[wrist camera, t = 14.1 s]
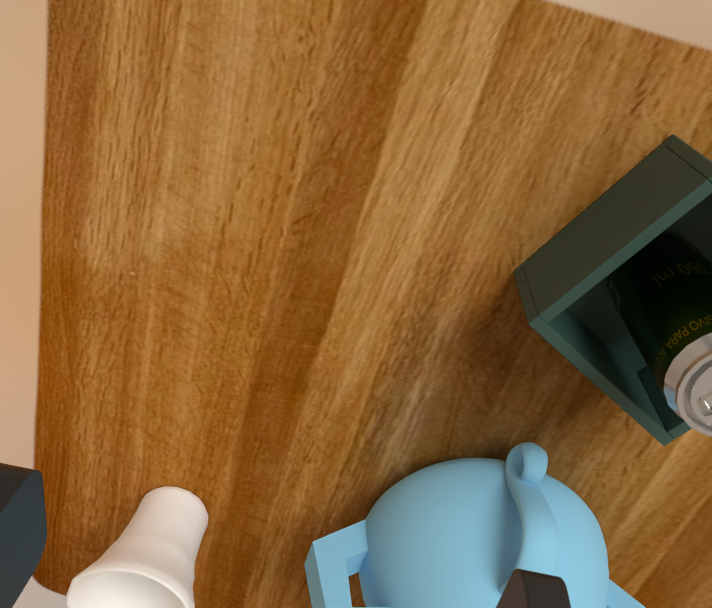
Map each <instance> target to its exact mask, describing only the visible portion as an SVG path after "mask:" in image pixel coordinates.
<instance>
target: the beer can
mask: <svg viewBox="0 0 712 608" xmlns="http://www.w3.org/2000/svg"><path fill="white" fill-rule="evenodd" d="M608 290H609V293H610V296H611V299H612V301H613V303H614V305H615V307H616V309H617V311H618V312H619V314H620V316H621V318H622V320H623V322H624V324H625V325H626V327H627V329H628V331H629V333H630V335H631V337H632V338H633V340H634V342H635V344H636V346H637V348H638V350H639V351H640V353H641V355H642V357H643V359H644V361H645V363H646V364H647V366H648V368H649V370H650V372H651V374H652V376H653V377H654V379H655V381H656V383H657V385H658V387H659V389H660V390H661V392H662V394H663V396H664V398H665V400H666V402H667V403H668V405H669V406H670V407H671V408H672V410H673V411H674V412H675V413H676V414H677V415H678V416H679V417H681V418H683V419H684V421H685V422H686V423H687V424H688V425H689V426H690V427H691V428H693V429H695V430H696V431H698V432H700V433H702V434H704V435H709V436H712V264H711V263H710V262H709V261H708V260H707V259H706V257H705V256H704V255H703V254H702V253H701V252H700V251H699V250H698V249H697V248H696V247H695V246H694V245H693V244H691V243H690V242H688V241H686V240H685V239H683V238H679V237H675V236H670V235H658V236H657V237H656V238H654V239H653V240H652V241H651V242H649V243H648V244H647V245H646V246H644V247H643V248H642V249H641V250H639V251H638V252H637V253H636V254H634V255H633V256H632V257H631V258H629V259H628V260H627V261H625V262H624V263H623V264H622V265H620V266H619V267H618V268H617V269H615V270H614V271H613V272H612V273H610V274H609V275H608Z"/></svg>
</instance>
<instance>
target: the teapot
mask: <svg viewBox="0 0 712 608" xmlns="http://www.w3.org/2000/svg"><path fill="white" fill-rule="evenodd" d="M547 465H548V456H547V453H546V452H545V451H544V450H543V449H542V448H541V447H540V446H538V445H536V444H534V443H532V442H525V443H521V444H518V445H516V446H515V447H514V448H513V449H512V450H511V451H510V453H509V454H508V456H507V459H506V461H505V460H499V459H493V458H461V459H453V460H448V461H444V462H440V463H436V464H433V465H431V466H428V467H425V468H423V469H420V470H418V471H416V472H414V473H412V474H410V475H408V476H407V477H405V478H403V479H402V480H400V481H399V482H397V483H396V484H394V485H393V486H392V487H390V488H389V489H388V490H387V491H386V492H385V493H384V494H383V495H382V496H381V497H380V498H379V499H378V500H377V501H376V503H375V504H374V506H373V507H372V509H371V511H370V512H369V514H368V515H367V517H366V519H365V520H363V521H360V522H358V523H355V524H353V525H351V526H348V527H346V528H344V529H341V530H339V531H337V532H334V533H332V534H329V535H327V536H325V537H322V538H320V539H318V540H315V541H313V542H312V545H311V547H310V550H309V553H308V556H307V558H306V561H305V564H304V566H305V571H306V577H307V582H308V588H309V594H310V599H311V605H312V608H496V606H497V604H498V602H499V600H500V598H501V595H502V593H503V591H504V589H505V587H506V585H507V582H508V580H509V578H510V576H511V574H512V572H513V571H514V570H515V569H523V570H528V571H533V572H538V573H543V574H548V575H553V576H558V577H561V578H562V579H563V580H564V582H565V584H566V587H567V591H568V595H569V600H570V604H571V608H645V607H644V606H643V605H642V604H640V603H639V602H638V601H636V600H635V599H634V598H633V597H631V596H630V595H629V594H628V593H626V592H625V591H624V590H622V589H621V588H620V587H619V586H617V585H616V584H615V583H613V582H612V581H611V580H610V579H609V570H608V558H607V549H606V545H605V541H604V537H603V534H602V531H601V528H600V525H599V523H598V521H597V519H596V517H595V515H594V514H593V513H592V511H591V510H590V509H589V507H588V506H587V505H586V504H585V503H584V501H583V500H582V499H581V498H580V497H579V496H578V495H577V494H576V493H575V492H573V491H572V490H571V489H570V488H568V487H567V486H566V485H564V484H563V483H562V482H560V481H558V480H556V479H554V478H553V477H551V476H549V475H547V474H545V473H546V470H547ZM358 572H359V578H360V584H361V590H362V595H363V600H364V603H365V606H366V607H352V603H351V595H350V587H349V580H348V576H351V575H353V574H355V573H358Z"/></svg>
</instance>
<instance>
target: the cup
mask: <svg viewBox="0 0 712 608" xmlns="http://www.w3.org/2000/svg"><path fill="white" fill-rule="evenodd" d="M207 526H208V514H207V511H206V509H205V506H204V504H203V503H202V501H201V500H200V499H199V498H198V497H197V496H195V495H194V494H193V493H191V492H190V491H188V490H185V489H182V488H179V487H170V486H164V487H160V488H156V489H154V490H152V491H150V492H149V493H147V494H146V495H145V496H144V498H143V499H142V501H141V503H140V505H139V507H138V509H137V511H136V513H135V514H134V516H133V518H132V519H131V521H130V522H129V524H128V526H127V527H126V529H125V530H124V531H123V533H122V534H121V536H120V537H119V538H118V540H117V541H116V542H115V543H114V544H112V545H111V546H110V547H109V548H108V549H107V550H106V552H105V553H104V554H103V555H102V556H101V557H100V559H98V560H97V561H96V562H94V563H93V564H91V565H90V566H89V567H87V568H86V569H85V570H83V571H82V572H81V573H79V574H78V575H77V576H75V577H74V578H73V579H72V582H71V585H70V587H69V590H68V593H67V595H66V600H67V608H195V605H194V597H193V583H194V579H195V575H194V565H195V561H196V556H197V553H198V550H199V546H200V543H201V540H202V537H203V535H204V532H205V530H206V528H207Z"/></svg>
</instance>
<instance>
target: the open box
mask: <svg viewBox="0 0 712 608" xmlns="http://www.w3.org/2000/svg"><path fill="white" fill-rule="evenodd" d="M658 235H670V236H675V237H679V238H683V239H685V240H686V241H688V242H690V243H691V244H693V245H694V246H695V247H696V248H697V249H698V250H699V251H700V252H701V253H702V254H703V255H704V256H705V257H706V259H707V260H708V261H709V262H710V263H711V264H712V162H711V161H710V160H709V159H707V158H706V157H704V156H703V155H702V154H700V153H699V152H698V151H696V150H695V149H693V148H692V147H691V146H689V145H688V144H686V143H685V142H684V141H682V140H681V139H679V138H678V137H677V136H675V135H674V134H673V135H672V136H670V137H669V138H668V139H667V140H666V141H665V142H663V143H662V144H661V145H660V146H659V147H658V148H656V149H655V150H654V151H653V152H652V153H651V154H649V155H648V156H647V157H646V158H645V159H644V160H642V161H641V162H640V163H639V164H638V165H637V166H636V167H634V168H633V169H632V170H631V171H630V172H629V173H627V174H626V175H625V176H624V177H623V178H622V179H620V180H619V181H618V182H617V183H616V184H615V185H613V186H612V187H611V188H610V189H609V190H608V191H606V192H605V193H604V194H603V195H602V196H601V197H599V198H598V199H597V200H596V201H595V202H594V203H592V204H591V205H590V206H589V207H588V208H587V209H586V210H584V211H583V212H582V213H581V214H580V215H579V216H577V217H576V218H575V219H574V220H573V221H572V222H570V223H569V224H568V225H567V226H566V227H565V228H563V229H562V230H561V231H560V232H559V233H558V234H556V235H555V236H554V237H553V238H552V239H551V240H549V241H548V242H547V243H546V244H545V245H544V246H542V247H541V248H540V249H539V250H538V251H537V252H536V253H534V254H533V255H532V256H531V257H530V258H529V259H527V260H526V261H525V262H524V263H523V264H522V265H520V266H519V267H518V268H517V269H516V270H515V271H514V276H515V279H516V283H517V286H518V290H519V293H520V297H521V301H522V304H523V308H524V311H525V315H526V318H527V322H528V325H529V326H530V327H531V328H533V329H534V330H535V331H536V332H537V333H538V334H539V335H540V336H542V337H543V338H544V339H545V340H546V341H547V342H548V343H549V344H551V345H552V346H553V347H554V348H555V349H556V350H557V351H558V352H559V353H561V354H562V355H563V356H564V357H565V358H566V359H567V360H568V361H570V362H571V363H572V364H573V365H574V366H575V367H576V368H577V369H579V370H580V371H581V372H582V373H583V374H584V375H585V376H586V377H587V378H589V379H590V380H591V381H592V382H593V383H594V384H595V385H596V386H598V387H599V388H600V389H601V390H602V391H603V392H604V393H605V394H606V395H608V396H609V397H610V398H611V399H612V400H613V401H614V402H615V403H617V404H618V405H619V406H620V407H621V408H622V409H623V410H624V411H626V412H627V413H628V414H629V415H630V416H631V417H632V418H633V419H634V420H636V421H637V422H638V423H639V424H640V425H641V426H642V427H643V428H645V429H646V430H647V431H648V432H649V433H650V434H651V435H652V436H654V437H655V438H656V439H657V440H658V441H659V442H660V443H661V444H662V445H664V446H665V445H667V444H668V443H670V442H671V441H673V440H674V439H676V438H677V437H679V436H681V435H682V434H684V433H685V432H687V431H688V430H690V429H692V428H691V427H690V426H689V425H688V424H687V423H686V422H685V421H684V419H683V418H681V417H679V416H678V415H677V414H676V413H675V412H674V411H673V410H672V408H671V407H670V406H669V405H668V403H667V402H666V400H665V398H664V396H663V394H662V392H661V390H660V389H659V387H658V385H657V383H656V381H655V379H654V377H653V376H652V374H651V372H650V370H649V368H648V366H647V364H646V363H645V361H644V359H643V357H642V355H641V353H640V351H639V350H638V348H637V346H636V344H635V342H634V340H633V338H632V337H631V335H630V333H629V331H628V329H627V327H626V325H625V324H624V322H623V320H622V318H621V316H620V314H619V312H618V311H617V309H616V307H615V305H614V303H613V301H612V299H611V296H610V293H609V290H608V275H609V274H610V273H612V272H613V271H614V270H615V269H617V268H618V267H619V266H620V265H622V264H623V263H624V262H625V261H627V260H628V259H629V258H631V257H632V256H633V255H634V254H636V253H637V252H638V251H639V250H641V249H642V248H643V247H644V246H646V245H647V244H648V243H649V242H651V241H652V240H653V239H654V238H656V237H657V236H658Z"/></svg>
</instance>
